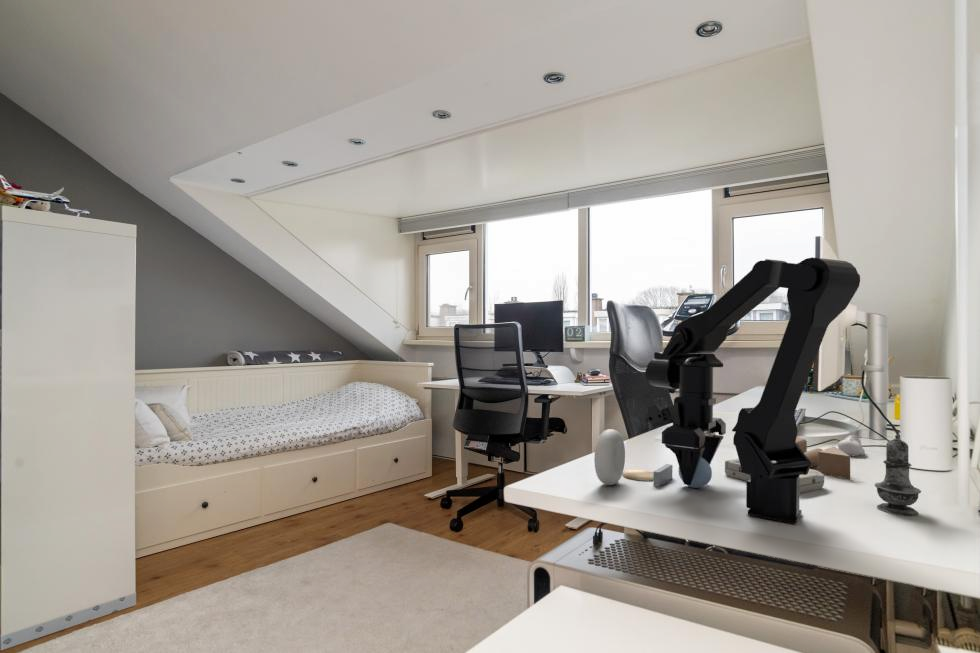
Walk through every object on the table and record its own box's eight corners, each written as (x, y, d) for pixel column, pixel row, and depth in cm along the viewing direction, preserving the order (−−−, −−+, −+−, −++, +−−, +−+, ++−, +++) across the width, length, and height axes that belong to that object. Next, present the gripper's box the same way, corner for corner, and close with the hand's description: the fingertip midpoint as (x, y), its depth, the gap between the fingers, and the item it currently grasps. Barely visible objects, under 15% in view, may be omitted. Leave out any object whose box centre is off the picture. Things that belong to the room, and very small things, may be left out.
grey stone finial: (908, 506, 88) (908, 431, 88) (929, 518, 82) (929, 438, 82) (867, 503, 89) (867, 429, 89) (885, 514, 83) (885, 436, 83)
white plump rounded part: (609, 477, 103) (610, 424, 103) (627, 480, 102) (627, 426, 102) (591, 489, 95) (591, 432, 95) (610, 492, 93) (610, 434, 93)
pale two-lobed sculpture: (857, 463, 124) (832, 452, 127) (866, 457, 129) (842, 447, 133) (863, 446, 123) (839, 436, 126) (872, 441, 128) (848, 431, 132)
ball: (715, 486, 98) (715, 455, 98) (706, 493, 93) (707, 461, 93) (683, 481, 101) (684, 451, 101) (674, 488, 96) (674, 456, 97)
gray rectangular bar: (672, 477, 103) (672, 464, 103) (658, 486, 97) (659, 472, 97) (667, 477, 104) (667, 464, 104) (653, 485, 98) (653, 471, 98)
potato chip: (665, 475, 105) (665, 473, 105) (652, 483, 100) (652, 481, 100) (630, 469, 109) (630, 468, 109) (616, 476, 104) (616, 475, 104)
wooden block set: (757, 439, 117) (789, 430, 129) (757, 466, 117) (789, 454, 129) (848, 452, 104) (874, 441, 116) (848, 481, 104) (875, 468, 116)
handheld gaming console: (798, 476, 93) (723, 458, 106) (798, 497, 93) (723, 476, 106) (829, 470, 98) (753, 454, 111) (829, 490, 98) (753, 471, 111)
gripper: (668, 385, 110) (667, 463, 109) (632, 392, 95) (631, 482, 94) (726, 389, 103) (726, 471, 103) (698, 397, 88) (698, 494, 88)
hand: (695, 479), depth 97 cm, fingers open, 9 cm apart
